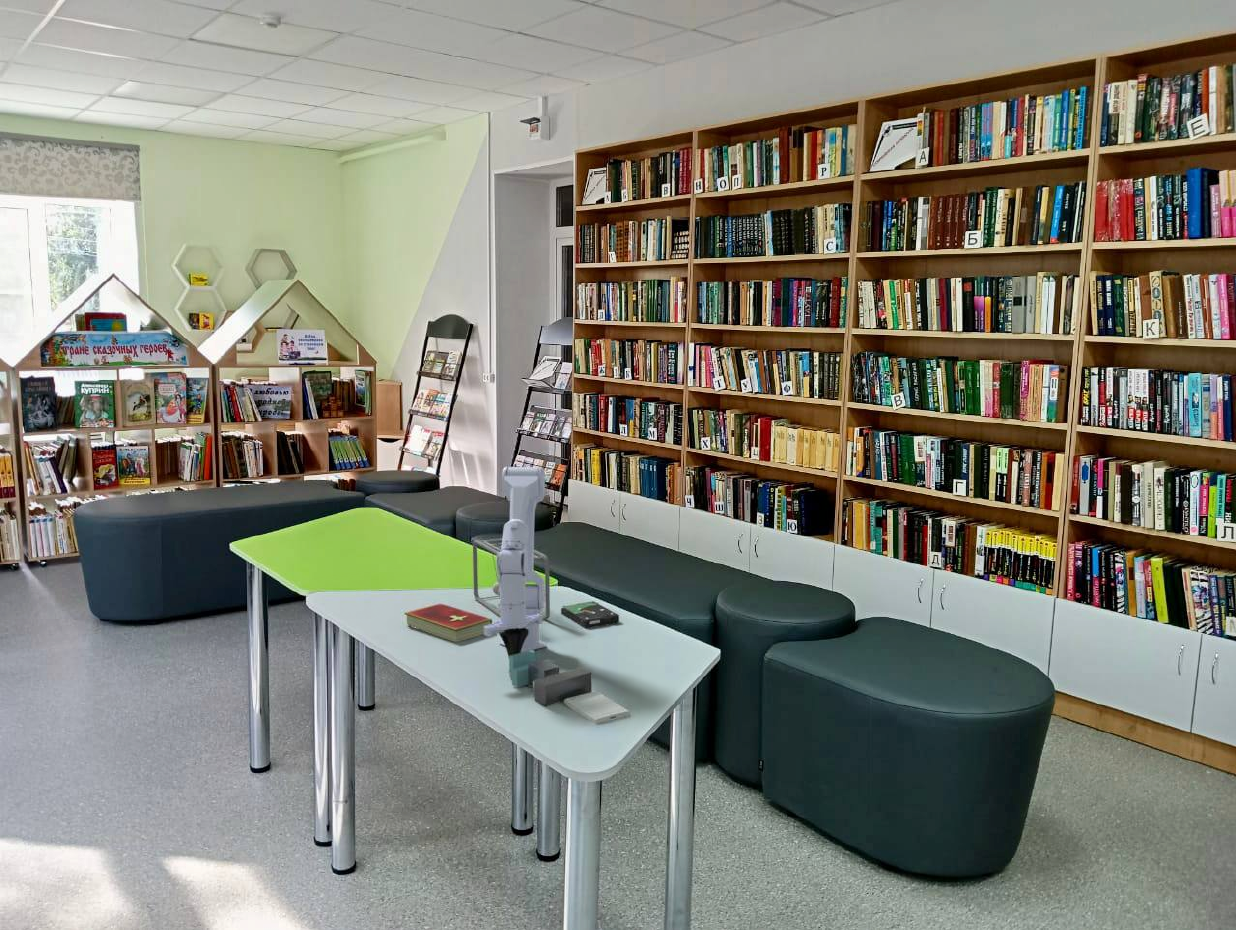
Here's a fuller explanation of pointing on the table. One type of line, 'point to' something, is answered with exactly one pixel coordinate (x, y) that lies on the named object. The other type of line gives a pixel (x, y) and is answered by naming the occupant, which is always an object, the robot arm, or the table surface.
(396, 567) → the table surface
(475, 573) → the newton's cradle
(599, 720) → the hard drive
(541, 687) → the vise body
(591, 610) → the disk drive
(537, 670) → the steel block
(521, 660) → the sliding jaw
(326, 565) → the table surface
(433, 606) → the hardcover book
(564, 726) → the table surface
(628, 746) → the table surface
